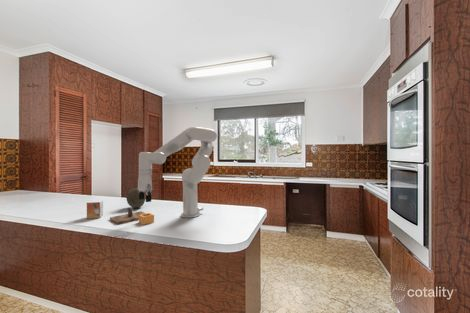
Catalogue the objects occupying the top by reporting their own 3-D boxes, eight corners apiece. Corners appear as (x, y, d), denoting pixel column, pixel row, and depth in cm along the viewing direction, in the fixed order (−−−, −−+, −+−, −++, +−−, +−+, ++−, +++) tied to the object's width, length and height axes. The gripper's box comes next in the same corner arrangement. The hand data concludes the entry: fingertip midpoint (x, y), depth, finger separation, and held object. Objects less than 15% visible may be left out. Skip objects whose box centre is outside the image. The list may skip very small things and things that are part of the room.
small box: (86, 218, 143) (86, 202, 143) (90, 216, 149) (90, 200, 148) (100, 218, 145) (99, 202, 145) (103, 215, 150) (103, 200, 150)
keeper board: (141, 213, 155) (141, 203, 155) (150, 217, 145) (150, 206, 145) (109, 219, 141) (109, 208, 141) (117, 224, 131) (117, 212, 131)
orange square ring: (149, 219, 140) (149, 212, 140) (154, 222, 136) (154, 214, 136) (138, 222, 136) (138, 214, 135) (143, 224, 131) (143, 217, 131)
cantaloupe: (150, 206, 174) (149, 187, 173) (133, 211, 162) (133, 190, 161) (138, 204, 181) (138, 186, 181) (122, 208, 169) (121, 188, 169)
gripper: (133, 171, 138) (133, 199, 138) (145, 173, 126) (144, 203, 126) (145, 171, 144) (145, 197, 144) (157, 173, 131) (157, 201, 132)
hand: (145, 200), depth 135 cm, fingers open, 9 cm apart
